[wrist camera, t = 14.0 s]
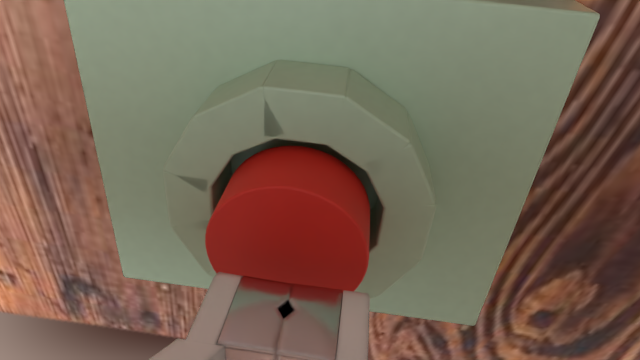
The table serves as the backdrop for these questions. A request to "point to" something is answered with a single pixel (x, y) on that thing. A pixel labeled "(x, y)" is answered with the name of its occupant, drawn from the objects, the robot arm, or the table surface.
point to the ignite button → (292, 220)
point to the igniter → (331, 123)
